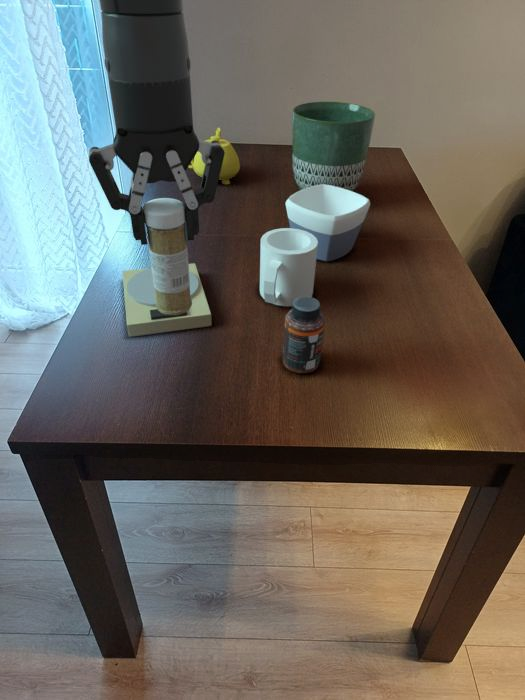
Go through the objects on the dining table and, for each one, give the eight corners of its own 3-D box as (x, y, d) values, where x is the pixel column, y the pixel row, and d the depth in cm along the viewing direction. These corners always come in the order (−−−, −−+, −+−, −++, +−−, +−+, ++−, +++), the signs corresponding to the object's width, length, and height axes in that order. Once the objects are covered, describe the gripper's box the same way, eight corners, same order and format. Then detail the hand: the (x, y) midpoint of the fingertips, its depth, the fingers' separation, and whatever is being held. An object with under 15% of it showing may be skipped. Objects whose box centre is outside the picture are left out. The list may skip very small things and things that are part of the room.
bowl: (273, 247, 108) (275, 198, 101) (317, 226, 117) (321, 180, 110) (330, 273, 100) (336, 221, 93) (371, 248, 109) (380, 199, 102)
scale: (129, 337, 83) (126, 322, 81) (124, 282, 96) (121, 268, 94) (211, 325, 85) (210, 311, 84) (195, 274, 99) (194, 260, 97)
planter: (362, 188, 137) (375, 104, 123) (361, 217, 122) (375, 125, 108) (292, 182, 139) (297, 99, 125) (283, 210, 124) (287, 119, 110)
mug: (297, 321, 87) (301, 268, 80) (244, 308, 90) (244, 255, 83) (319, 284, 97) (324, 234, 90) (270, 273, 100) (272, 224, 93)
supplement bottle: (321, 376, 76) (328, 315, 69) (282, 375, 76) (286, 314, 69) (318, 351, 81) (325, 292, 73) (281, 350, 81) (285, 291, 73)
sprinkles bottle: (185, 294, 65) (177, 193, 56) (197, 312, 61) (190, 209, 53) (151, 301, 63) (137, 199, 55) (161, 320, 60) (148, 215, 51)
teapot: (192, 166, 148) (189, 125, 141) (242, 167, 148) (241, 126, 140) (182, 191, 132) (178, 147, 125) (237, 193, 132) (237, 148, 125)
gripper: (217, 62, 50) (222, 220, 61) (69, 64, 47) (102, 230, 58) (232, 76, 44) (234, 248, 55) (65, 80, 41) (102, 261, 52)
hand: (166, 238), depth 56 cm, fingers closed on sprinkles bottle, 4 cm apart
